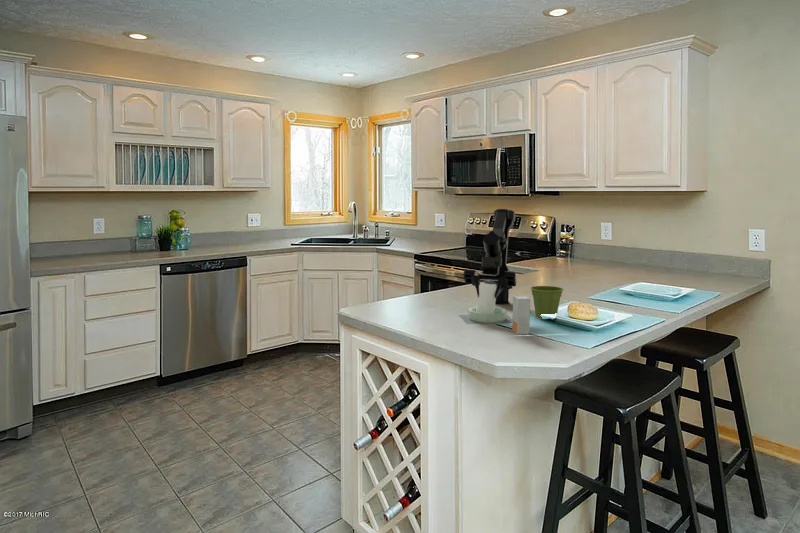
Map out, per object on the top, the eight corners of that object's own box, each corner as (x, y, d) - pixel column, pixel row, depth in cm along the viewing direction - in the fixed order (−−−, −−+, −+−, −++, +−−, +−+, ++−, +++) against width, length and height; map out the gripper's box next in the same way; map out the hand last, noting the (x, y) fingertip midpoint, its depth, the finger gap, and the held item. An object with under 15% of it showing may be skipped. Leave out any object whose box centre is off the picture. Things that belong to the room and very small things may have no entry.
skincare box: (511, 330, 184) (512, 295, 183) (524, 330, 185) (525, 295, 183) (516, 335, 178) (518, 298, 177) (529, 335, 179) (531, 298, 177)
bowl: (499, 314, 207) (499, 305, 206) (510, 322, 194) (510, 313, 193) (464, 315, 205) (464, 306, 205) (473, 323, 192) (473, 314, 192)
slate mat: (505, 314, 207) (505, 313, 207) (517, 323, 194) (517, 322, 194) (458, 316, 205) (458, 314, 205) (467, 325, 191) (467, 323, 191)
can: (496, 317, 198) (500, 284, 196) (480, 316, 196) (483, 283, 194) (489, 312, 204) (493, 280, 202) (473, 311, 203) (476, 279, 200)
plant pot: (562, 316, 206) (564, 286, 204) (562, 323, 195) (563, 291, 193) (530, 314, 209) (531, 284, 208) (527, 320, 198) (528, 289, 197)
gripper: (464, 247, 203) (457, 281, 194) (516, 249, 197) (511, 284, 188) (468, 266, 211) (462, 299, 202) (518, 268, 205) (513, 303, 196)
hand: (486, 296), depth 197 cm, fingers closed on can, 6 cm apart
